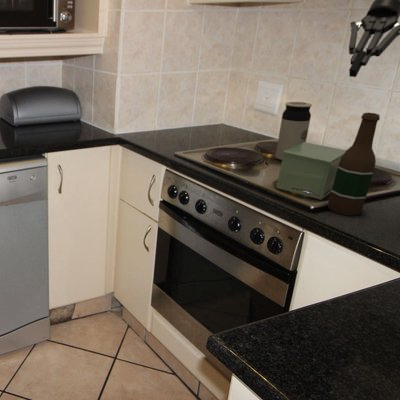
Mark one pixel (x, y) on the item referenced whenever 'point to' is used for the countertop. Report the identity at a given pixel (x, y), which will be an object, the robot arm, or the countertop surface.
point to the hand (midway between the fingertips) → (352, 73)
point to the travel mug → (293, 126)
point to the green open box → (306, 176)
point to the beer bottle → (355, 170)
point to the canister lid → (315, 153)
